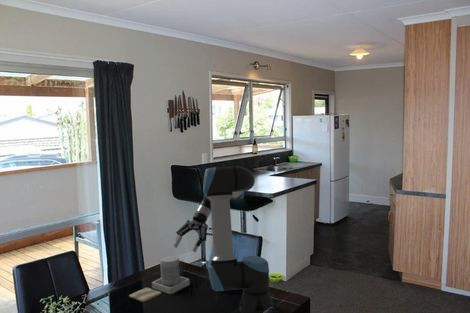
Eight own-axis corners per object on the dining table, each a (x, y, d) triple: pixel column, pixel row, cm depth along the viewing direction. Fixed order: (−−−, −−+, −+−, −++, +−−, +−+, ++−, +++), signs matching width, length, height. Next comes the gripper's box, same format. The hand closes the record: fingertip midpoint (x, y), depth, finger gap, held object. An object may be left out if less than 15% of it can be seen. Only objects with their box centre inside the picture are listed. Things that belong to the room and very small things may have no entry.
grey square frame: (189, 284, 206) (189, 279, 206) (170, 294, 196) (170, 288, 195) (171, 278, 215) (170, 273, 214) (151, 287, 204) (151, 282, 203)
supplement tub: (183, 287, 204) (182, 259, 202) (166, 292, 198) (164, 263, 197) (175, 281, 212) (174, 254, 210) (158, 285, 207) (157, 257, 205)
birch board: (161, 293, 196) (161, 292, 196) (144, 302, 188) (143, 300, 188) (146, 288, 203) (146, 287, 203) (128, 296, 194) (128, 295, 194)
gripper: (222, 221, 217) (205, 256, 207) (188, 216, 232) (171, 248, 222) (215, 214, 213) (198, 249, 202) (182, 208, 228) (163, 241, 217)
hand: (184, 249), depth 212 cm, fingers open, 13 cm apart
